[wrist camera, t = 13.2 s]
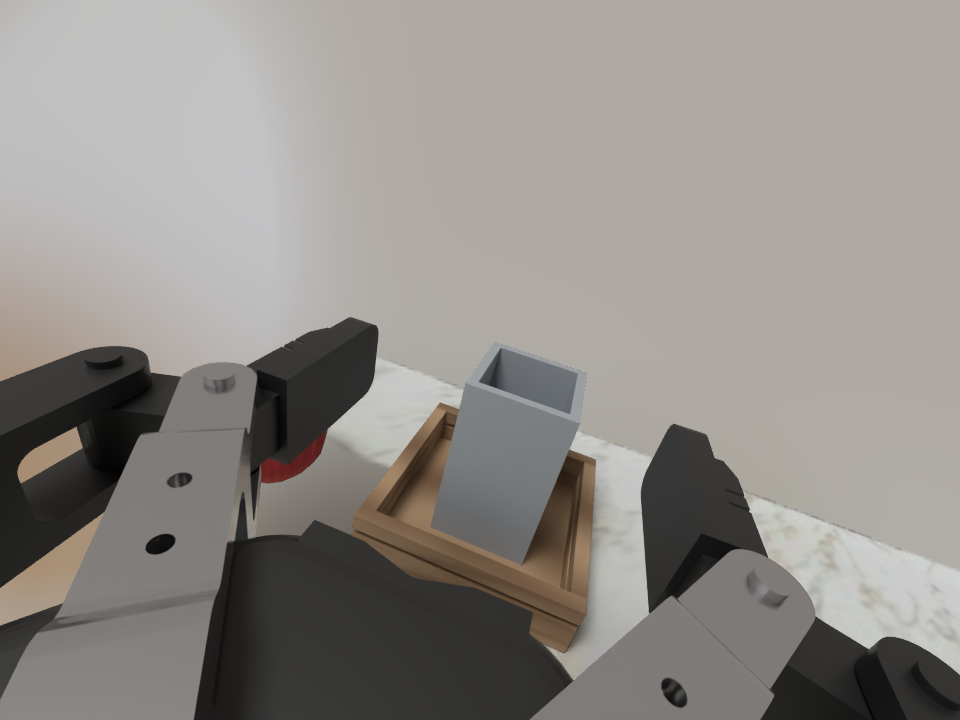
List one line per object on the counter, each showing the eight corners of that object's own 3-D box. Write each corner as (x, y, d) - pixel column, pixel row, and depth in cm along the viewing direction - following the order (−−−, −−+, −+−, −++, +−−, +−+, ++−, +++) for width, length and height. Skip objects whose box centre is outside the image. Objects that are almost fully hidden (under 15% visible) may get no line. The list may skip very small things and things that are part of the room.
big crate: (564, 653, 21) (586, 614, 20) (348, 557, 23) (354, 515, 21) (581, 492, 32) (596, 459, 30) (432, 435, 33) (440, 402, 32)
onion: (330, 449, 30) (338, 348, 26) (313, 515, 25) (320, 402, 21) (239, 441, 28) (234, 334, 25) (201, 510, 23) (188, 389, 20)
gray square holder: (521, 565, 24) (579, 423, 19) (430, 527, 25) (465, 383, 20) (537, 498, 29) (586, 372, 24) (460, 468, 30) (494, 341, 25)
